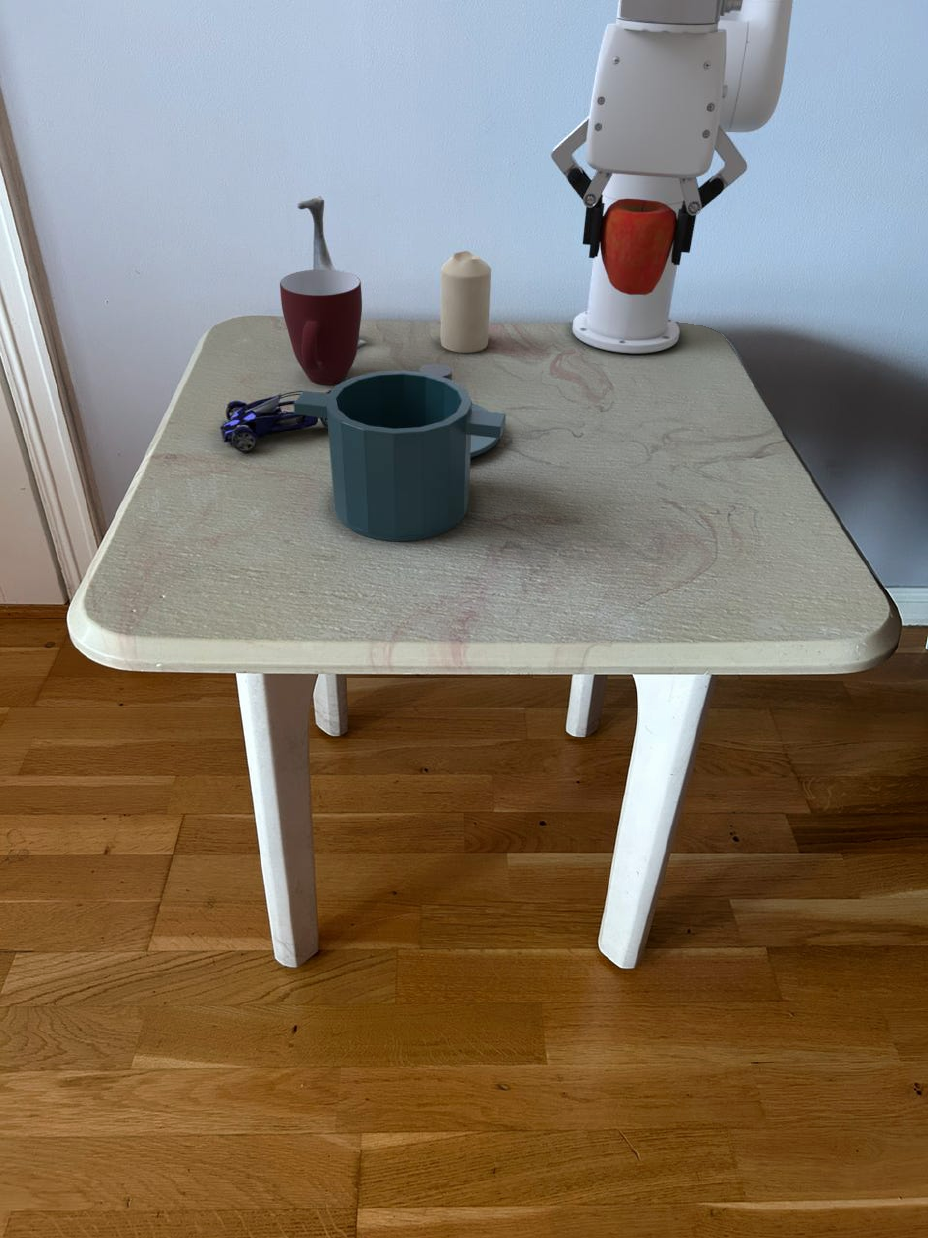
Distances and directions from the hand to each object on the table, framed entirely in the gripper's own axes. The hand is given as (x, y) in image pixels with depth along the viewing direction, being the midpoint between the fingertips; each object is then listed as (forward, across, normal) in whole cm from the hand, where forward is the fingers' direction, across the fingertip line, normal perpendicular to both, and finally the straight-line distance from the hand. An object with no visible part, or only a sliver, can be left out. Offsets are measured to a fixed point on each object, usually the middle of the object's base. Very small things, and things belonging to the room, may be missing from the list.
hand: (634, 255), depth 77 cm
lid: (+16, +16, +5) cm, 23 cm away
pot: (+17, +16, +18) cm, 29 cm away
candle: (+17, +18, -18) cm, 30 cm away
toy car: (+17, +30, +8) cm, 36 cm away
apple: (+3, 0, 0) cm, 3 cm away
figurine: (+17, +32, -14) cm, 39 cm away
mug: (+17, +30, -4) cm, 35 cm away
